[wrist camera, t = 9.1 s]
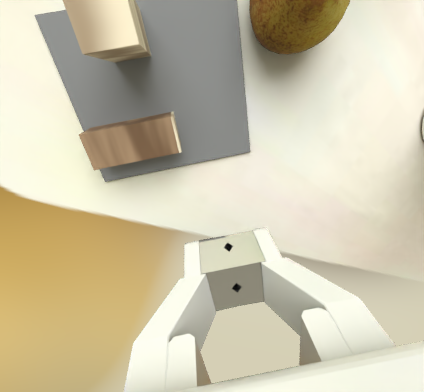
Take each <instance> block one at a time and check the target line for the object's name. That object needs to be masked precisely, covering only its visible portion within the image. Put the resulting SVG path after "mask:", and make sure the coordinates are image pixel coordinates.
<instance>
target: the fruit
mask: <svg viewBox="0 0 424 392" xmlns="http://www.w3.org/2000/svg"><path fill="white" fill-rule="evenodd" d="M349 2H350V0H250V18H251V23H252V27H253V31H254V33H255V36H256V38H257V40H258V41H259V42H260V43H261V45H262V46H263V47H265V48H267V49H268V50H270V51H273V52H275V53H278V54H293V53H299V52H302V51H305V50H307V49H309V48H311V47H313V46H315V45H317V44H319V43H320V42H322V41H323V40H324V39H325V38H327V37H328V36H329V35H330V34H331V33H332V32H333V31H334V29H335V28H336V26H337V25H338V23H339V22H340V20H341V19H342V17H343V15H344V13H345V11H346V9H347V7H348V5H349Z"/></svg>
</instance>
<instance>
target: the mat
mask: <svg viewBox="0 0 424 392" xmlns="http://www.w3.org/2000/svg"><path fill="white" fill-rule="evenodd" d="M135 1H136V3H137V5H138V7H139V9H140V12H141V16H142V20H143V24H144V28H145V32H146V36H147V40H148V44H149V48H150V52H151V56H149V57H144V58H138V59H133V60H127V61H122V62H116V63H114V62H110V61H107V60H103V59H99V58H95V57H91V56H88V55H84V54H82V51H81V49H80V46H79V43H78V40H77V38H76V35H75V32H74V30H73V27H72V24H71V21H70V19H69V16H68V13H67V11H66V10H62V11H56V12H50V13H44V14H38V15H35V17H36V20H37V22H38V24H39V27H40V29H41V31H42V34H43V36H44V39H45V41H46V43H47V46H48V48H49V50H50V53H51V55H52V57H53V60H54V62H55V65H56V67H57V69H58V72H59V74H60V76H61V79H62V81H63V83H64V86H65V88H66V91H67V93H68V95H69V98H70V100H71V102H72V105H73V107H74V109H75V112H76V114H77V117H78V119H79V121H80V124H81V126H82V128H83V131H86V130H88V129H89V128H91V127H97V126H102V125H107V124H112V123H117V122H122V121H127V120H133V119H138V118H143V117H148V116H153V115H158V114H163V113H168V112H174V116H175V120H176V125H177V129H178V133H179V138H180V142H181V150H182V152H181V153H176V154H171V155H166V156H161V157H156V158H151V159H146V160H142V161H137V162H132V163H127V164H122V165H117V166H112V167H107V168H102V169H100V171H101V173H102V176H103V178H104V180H105V182H107V181H112V180H116V179H121V178H126V177H131V176H136V175H141V174H145V173H150V172H155V171H160V170H165V169H170V168H174V167H179V166H184V165H189V164H194V163H198V162H203V161H208V160H213V159H218V158H223V157H227V156H232V155H237V154H242V153H247V152H250V143H249V132H248V121H247V110H246V98H245V87H244V76H243V64H242V53H241V42H240V31H239V19H238V8H237V0H135Z"/></svg>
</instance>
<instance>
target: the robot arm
mask: <svg viewBox="0 0 424 392" xmlns="http://www.w3.org/2000/svg"><path fill="white" fill-rule="evenodd" d="M422 135H423V139H424V118H423V123H422ZM264 301H265V303H266V304H267V305H268V306H269V307H270V308H271V309H272V310H273V311H274V312H275V313H276V314H277V315H279V317H281V318H282V319H283V320H284V321H285V322H286V323H287V324H288V325H289V326H290V327H291V328H292V329H293V330H294V331H295V332H296V333H297V334H299V335H300V336H301V337H300V363H299V364H300V366H296V367H291V368H287V369H281V370H276V371H272V372H266V373H262V374H257V375H252V376H247V377H242V378H237V379H232V380H227V381H222V382H217V383H212V384H211V381H210V378H209V375H208V373H207V370H206V367H205V364H204V361H203V359H202V356H201V353H200V351H201V349H202V346H203V344H204V341H205V339H206V336H207V334H208V331H209V329H210V326H211V324H212V321H213V319H214V316H215V314H216V311H219V310H223V309H227V308H231V307H236V306H241V305H247V304H252V303H258V302H264ZM124 392H424V341H420V342H415V343H410V344H405V345H400V346H396V345H395V344H394V343H393V341H392V340H391V339H390V337H389V336H388V335H387V333H386V332H385V331H384V329H383V328H382V327H381V326H380V324H379V323H378V322H377V321H376V319H375V318H374V316H373V315H372V314H371V312H370V311H369V310H368V308H367V307H366V306H365V305H364V303H363V302H362V301H361V299H360V298H359V297H357V296H355V295H353V294H351V293H350V292H348V291H346V290H344V289H342V288H341V287H339V286H337V285H335V284H333V283H332V282H330V281H328V280H326V279H324V278H323V277H321V276H319V275H318V274H316V273H314V272H312V271H310V270H308V269H307V268H305V267H303V266H302V265H300V264H298V263H296V262H294V261H293V260H291V259H289V258H282V256H281V254H280V252H279V250H278V248H277V246H276V244H275V242H274V240H273V238H272V237H271V235H270V233H269V231H268V229H267V228H266V227H263V228H259V229H255V230H252V231H247V232H242V233H237V234H232V235H227V236H221V237H216V238H210V239H204V240H199V241H194V242H189V243H185V246H184V278H182V279H179V281H178V282H177V284H176V285H175V286H174V288H173V289H172V290H171V292H170V293H169V295H168V296H167V297H166V299H165V300H164V301H163V303H162V304H161V306H160V307H159V308H158V310H157V311H156V312H155V314H154V315H153V317H152V318H151V320H150V321H149V322H148V324H147V325H146V326H145V328H144V329H143V331H142V332H141V333H140V335H139V336H138V338H137V339H136V340H135V342H134V343H133V347H132V353H131V358H130V363H129V368H128V373H127V378H126V383H125V388H124Z"/></svg>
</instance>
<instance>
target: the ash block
mask: <svg viewBox="0 0 424 392" xmlns="http://www.w3.org/2000/svg"><path fill="white" fill-rule="evenodd" d="M63 2H64V5H65V8H66V11H67V13H68V16H69V19H70V21H71V24H72V27H73V30H74V32H75V35H76V38H77V40H78V43H79V46H80V49H81V51H82V54H84V55H88V56H91V57H95V58H99V59H103V60H107V61H110V62H114V63H116V62H122V61H127V60H133V59H138V58H144V57H149V56H151V52H150V48H149V44H148V40H147V36H146V32H145V28H144V24H143V20H142V16H141V12H140V9H139V7H138V5H137V3H136V1H135V0H63Z"/></svg>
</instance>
